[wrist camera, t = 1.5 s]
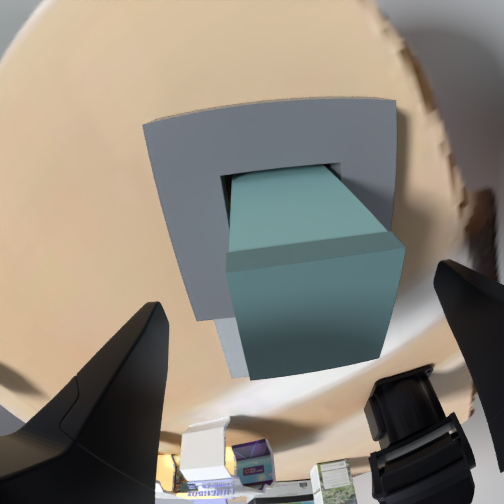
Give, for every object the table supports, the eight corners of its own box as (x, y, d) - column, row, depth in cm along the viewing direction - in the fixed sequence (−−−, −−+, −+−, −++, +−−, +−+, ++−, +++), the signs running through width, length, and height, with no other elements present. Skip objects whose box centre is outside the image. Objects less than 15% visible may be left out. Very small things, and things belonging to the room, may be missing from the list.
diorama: (224, 409, 25) (226, 537, 14) (272, 439, 30) (281, 535, 18) (82, 431, 30) (66, 507, 19) (132, 458, 35) (124, 525, 24)
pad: (328, 293, 17) (329, 297, 17) (323, 361, 21) (324, 365, 20) (212, 308, 17) (211, 313, 17) (231, 374, 21) (232, 378, 20)
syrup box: (308, 471, 40) (318, 539, 27) (316, 463, 37) (328, 538, 24) (338, 466, 40) (350, 532, 28) (348, 457, 37) (363, 529, 25)
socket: (375, 97, 11) (395, 100, 9) (368, 273, 16) (380, 295, 15) (155, 119, 11) (142, 125, 10) (199, 296, 17) (196, 321, 15)
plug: (319, 159, 13) (405, 247, 6) (321, 236, 15) (378, 358, 8) (231, 169, 13) (225, 273, 6) (243, 246, 15) (250, 380, 8)
